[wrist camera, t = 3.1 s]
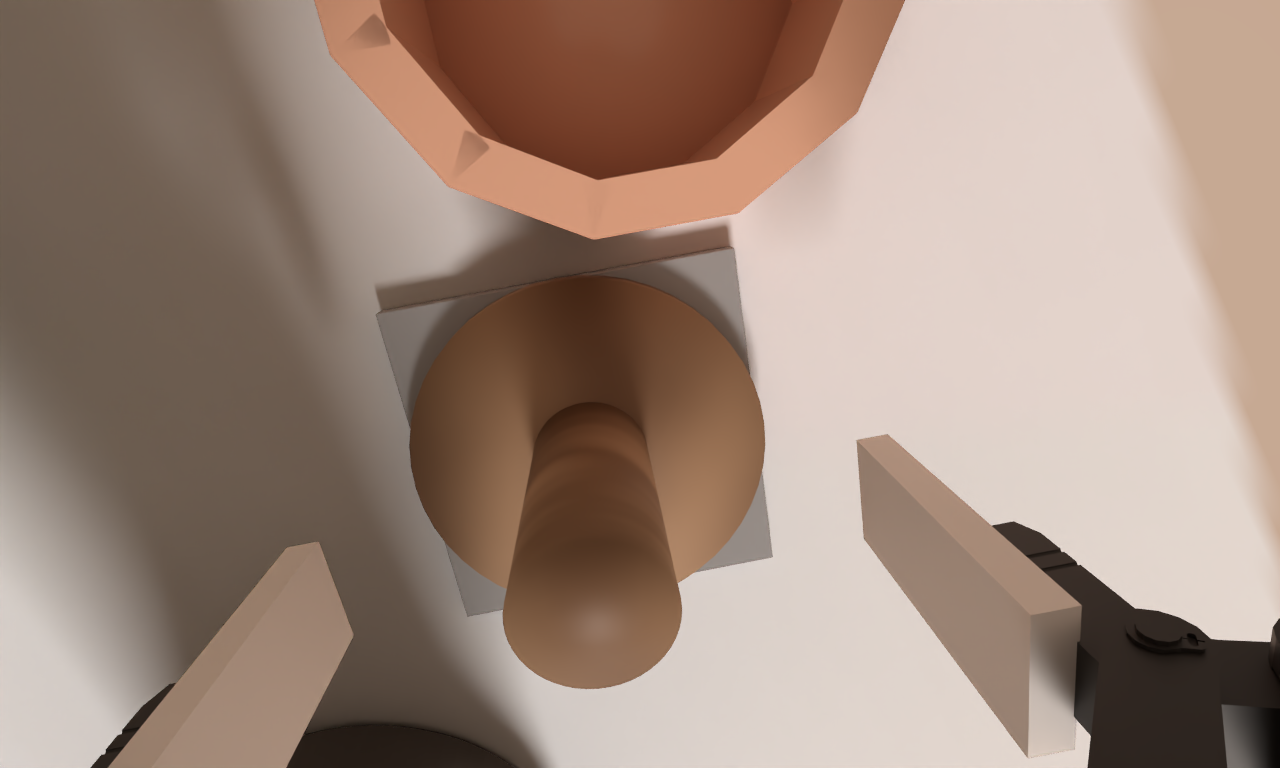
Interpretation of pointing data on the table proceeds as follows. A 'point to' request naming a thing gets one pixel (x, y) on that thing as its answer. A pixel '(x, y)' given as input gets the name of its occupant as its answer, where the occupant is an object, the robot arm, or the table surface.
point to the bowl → (612, 96)
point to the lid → (587, 465)
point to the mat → (687, 277)
